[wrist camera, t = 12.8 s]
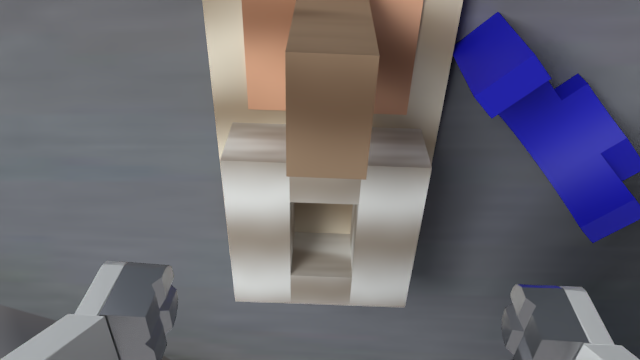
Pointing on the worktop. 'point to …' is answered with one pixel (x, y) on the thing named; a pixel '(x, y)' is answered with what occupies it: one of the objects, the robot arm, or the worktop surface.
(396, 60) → the board
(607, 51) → the worktop surface
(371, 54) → the plug
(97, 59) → the worktop surface
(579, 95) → the cable clip
